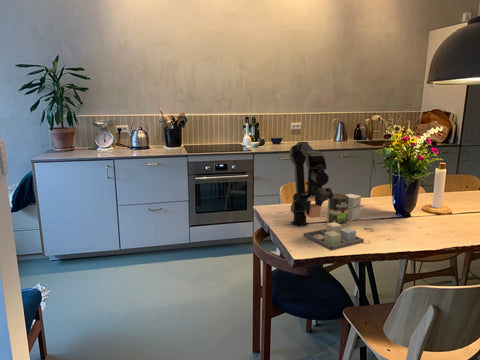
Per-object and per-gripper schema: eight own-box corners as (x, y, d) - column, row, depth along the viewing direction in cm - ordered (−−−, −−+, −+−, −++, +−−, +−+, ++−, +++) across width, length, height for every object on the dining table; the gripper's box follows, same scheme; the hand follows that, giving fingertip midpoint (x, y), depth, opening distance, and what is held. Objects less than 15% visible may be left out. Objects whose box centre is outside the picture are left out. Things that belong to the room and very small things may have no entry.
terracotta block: (304, 215, 179) (305, 204, 178) (313, 213, 181) (313, 203, 180) (311, 218, 175) (311, 207, 174) (320, 216, 177) (320, 206, 176)
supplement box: (351, 221, 202) (353, 198, 199) (339, 218, 208) (341, 195, 205) (359, 218, 207) (361, 195, 204) (348, 215, 212) (349, 193, 209)
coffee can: (351, 224, 197) (352, 198, 194) (333, 226, 194) (334, 199, 191) (340, 218, 206) (342, 193, 203) (323, 220, 204) (324, 194, 200)
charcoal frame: (303, 236, 181) (303, 226, 180) (334, 229, 190) (334, 219, 189) (331, 250, 165) (331, 239, 163) (363, 242, 173) (364, 231, 172)
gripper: (308, 186, 163) (306, 221, 167) (342, 182, 172) (340, 215, 175) (292, 181, 173) (291, 214, 176) (325, 177, 181) (324, 209, 185)
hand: (312, 213), depth 178 cm, fingers closed on terracotta block, 5 cm apart
